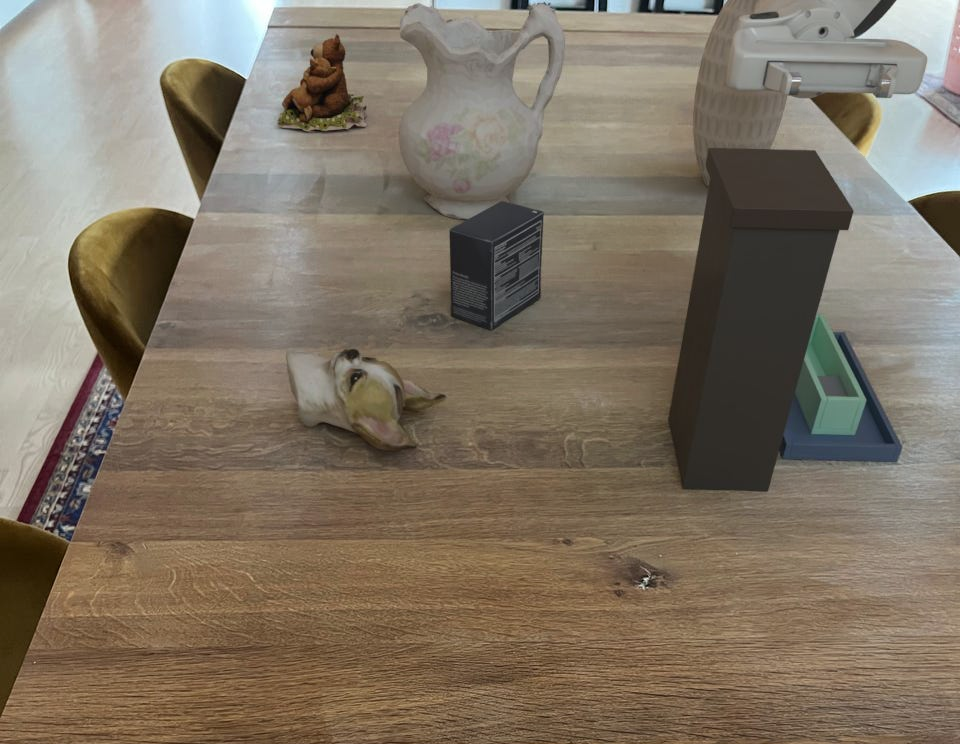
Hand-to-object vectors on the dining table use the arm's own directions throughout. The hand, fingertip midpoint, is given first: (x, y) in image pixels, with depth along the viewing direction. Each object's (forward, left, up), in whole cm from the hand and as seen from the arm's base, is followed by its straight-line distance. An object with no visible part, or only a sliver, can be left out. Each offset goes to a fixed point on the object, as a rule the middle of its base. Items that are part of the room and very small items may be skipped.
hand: (839, 88), depth 98 cm
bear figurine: (+64, -69, -25) cm, 97 cm away
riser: (+12, +28, -25) cm, 39 cm away
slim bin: (0, +16, -24) cm, 29 cm away
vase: (0, -44, -25) cm, 51 cm away
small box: (+34, -2, -25) cm, 42 cm away
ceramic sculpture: (+47, +25, -25) cm, 59 cm away
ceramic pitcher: (+37, -34, -25) cm, 56 cm away
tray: (0, +17, -25) cm, 30 cm away
